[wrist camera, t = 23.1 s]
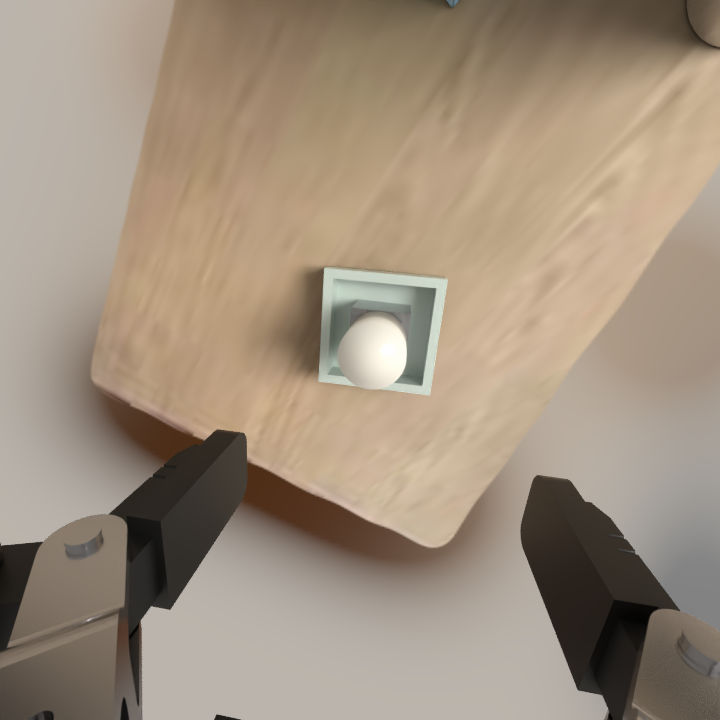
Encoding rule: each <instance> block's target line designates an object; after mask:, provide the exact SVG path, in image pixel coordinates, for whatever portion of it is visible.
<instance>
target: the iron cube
mask: <svg viewBox="0 0 720 720" xmlns="http://www.w3.org/2000/svg"><path fill="white" fill-rule="evenodd" d="M374 311H380V312H385V313H388V314H390V315H392V316H394V317H395V318H396V319H397V320H398V321H399V322H400V323H401V324H402V326H403V328H404V330H405V333H406V339H407V341H408V333H409V326H410V318H411V305H405V304H396V303H387V302H378V301H369V300H358V301H357V302H356V303H355V304H354V305H353V306H352V307H351V317H350V327H351V326H352V324H353V323H354V322H355V320H357V319H358V318H359V317H360V316H362V315H364V314H366V313H369V312H374Z"/></svg>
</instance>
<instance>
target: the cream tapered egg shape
mask: <svg viewBox="0 0 720 720" xmlns="http://www.w3.org/2000/svg"><path fill="white" fill-rule="evenodd" d="M337 356H338V363H339V367H340V369H341V371H342V373H343V374H344V376H345V377H346V378H347V379H348V380H349V381H350V382H351V383H353V384H355V385H356V386H358V387H361V388H364V389H371V390H375V389H382V388H385V387H387V386H389V385H391V384H393V383H394V382H395V381H396V380H397V379H398V378H399V377H400V376H401V374H402V373H403V371H404V368H405V365H406V357H407V339H406V333H405V330H404V328H403V326H402V324H401V323H400V322H399V321H398V320H397V319H396V318H395V317H394V316H392V315H390V314H388V313H385V312H380V311H374V312H369V313H366V314H364V315H362V316H360V317H359V318H358V319H357V320H355V322H354V323H353V324H352V326H351V327H350V328H349V330H348V331H347V333H346V334H345V335H344V337H343V338H342V340H341V342H340V344H339V348H338V353H337Z"/></svg>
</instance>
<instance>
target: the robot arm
mask: <svg viewBox="0 0 720 720" xmlns="http://www.w3.org/2000/svg"><path fill="white" fill-rule="evenodd" d="M687 12H688V17H689V21H690V23H691V25H692V27H693V29H694V31H695V32H696V34H697V35H698V36H699V37H700V38H701V39H702V40H704V41H705V42H707V43H708V44H710V45H713V46H717V47H720V0H687ZM246 485H247V441H246V436H245V434H244V433H240V432H233V431H226V430H216V431H214V432H213V433H212V434H211V435H210V436H209V437H208V438H207V439H206V440H205V441H204V442H203V443H202V444H201V445H198V444H195V445H193V446H191V447H189V448H187V449H184V450H182V451H180V452H178V453H177V454H176V455H175V456H173V457H172V458H171V459H170V460H169V461H168V462H167V463H166V464H164V467H161V468H160V469H159V470H158V471H157V472H156V473H154V474H153V477H150V478H149V479H148V480H146V481H145V482H144V483H143V484H142V485H141V486H140V487H139V488H138V489H136V490H135V491H134V492H133V493H132V494H131V495H130V496H129V497H127V498H126V499H125V500H124V501H123V502H122V503H121V504H120V505H119V506H117V507H116V508H115V509H114V510H113V511H112V512H111V513H110V514H107V515H106V514H104V515H103V514H102V515H94V516H89V517H85V518H82V519H79V520H76V521H74V522H71V523H69V524H67V525H65V526H64V527H62V528H60V529H58V530H57V531H56V532H54V533H53V534H51V535H50V536H49V537H48V538H47V539H46V540H45V541H44V542H35V543H25V544H15V545H4V546H1V544H0V720H142V628H141V619H142V618H143V616H144V615H145V614H146V612H147V611H148V609H149V608H150V607H151V606H153V607H159V608H164V609H169V610H170V609H171V608H172V606H173V605H174V603H175V602H176V600H177V599H178V597H179V595H180V594H181V592H182V591H183V589H184V588H185V586H186V585H187V583H188V582H189V580H190V579H191V577H192V576H193V574H194V573H195V571H196V570H197V568H198V567H199V565H200V564H201V562H202V560H203V559H204V557H205V556H206V554H207V553H208V551H209V550H210V548H211V547H212V545H213V544H214V542H215V541H216V539H217V538H218V536H219V535H220V533H221V531H222V530H223V528H224V527H225V525H226V524H227V522H228V521H229V519H230V518H231V516H232V515H233V513H234V512H235V510H236V508H237V507H238V506H239V504H240V502H241V501H242V499H243V496H244V493H245V490H246ZM521 541H522V547H523V549H524V552H525V555H526V557H527V560H528V563H529V565H530V568H531V570H532V573H533V575H534V578H535V581H536V583H537V586H538V588H539V591H540V593H541V596H542V599H543V601H544V604H545V606H546V609H547V611H548V614H549V617H550V619H551V622H552V625H553V627H554V630H555V632H556V635H557V638H558V640H559V643H560V645H561V648H562V650H563V653H564V656H565V658H566V661H567V663H568V666H569V669H570V671H571V674H572V676H573V679H574V682H575V684H576V687H577V689H578V690H579V691H585V692H589V693H595V694H600V695H603V697H604V700H605V702H606V704H607V707H608V711H607V714H606V716H605V718H604V720H720V632H719V631H718V630H716V629H715V628H714V627H712V626H710V625H709V624H707V623H705V622H704V621H702V620H700V619H698V618H696V617H694V616H691V615H689V614H687V613H684V612H681V611H680V610H679V609H678V607H677V606H676V605H675V603H674V602H673V601H672V599H671V598H670V597H669V595H668V594H667V593H666V591H665V590H664V589H663V587H662V586H661V585H660V583H659V582H658V581H657V579H656V578H655V577H654V575H653V574H652V573H651V571H650V570H649V569H648V567H647V566H646V565H645V563H644V562H643V561H642V559H641V558H640V557H639V555H636V554H635V550H634V549H633V547H632V546H631V545H630V544H629V542H628V541H627V540H626V539H624V535H623V534H622V533H621V532H620V530H619V529H618V528H617V527H616V525H615V524H614V522H613V521H612V520H611V518H609V517H608V516H607V515H606V514H604V513H603V512H602V511H601V510H600V509H598V508H597V507H596V506H595V505H593V504H592V503H590V502H585V501H584V500H583V498H582V497H581V495H580V494H579V492H578V491H577V489H576V488H575V487H574V485H573V484H572V482H571V481H570V480H568V479H562V478H555V477H547V476H540V475H537V476H536V477H535V478H534V479H533V482H532V485H531V489H530V492H529V496H528V500H527V504H526V507H525V511H524V515H523V519H522V523H521ZM214 720H240V719H236V718H231V717H226V716H222V715H216V717H215V719H214Z"/></svg>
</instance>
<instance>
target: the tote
mask: <svg viewBox="0 0 720 720" xmlns="http://www.w3.org/2000/svg"><path fill="white" fill-rule="evenodd" d="M447 281H448V279H447V278H445V277H443V276H432V275H422V274H411V273H400V272H390V271H379V270H368V269H357V268H347V267H336V266H330V267H326V268H324V282H323V302H322V322H321V342H320V362H319V381H318V382H326V383H334V384H343V385H351V386H356V385H355V384H353V383H351V382H350V381H349V380H348V379H347V378H346V377H345V376H344V374H343V373H342V371H341V369H340V367H339V363H338V356H337V353H338V348H339V344H340V342H341V340H342V338H343V337H344V335H345V334H346V333H347V331H348V330H349V328H350V317H351V307H352V306H353V305H354V304H355V303H356V302H357V301H358V300H369V301H378V302H387V303H396V304H405V305H411V318H410V326H409V333H408V341H407V357H406V365H405V368H404V371H403V373H402V374H401V376H400V377H399V378H398V379H397V380H396V381H395V382H394V383H393V384H391V385H389V386H387V387H385V388H382V389H383V390H391V391H399V392H407V393H415V394H423V395H430V392H431V385H432V379H433V372H434V366H435V359H436V353H437V346H438V340H439V333H440V327H441V320H442V314H443V307H444V301H445V294H446V288H447Z"/></svg>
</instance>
